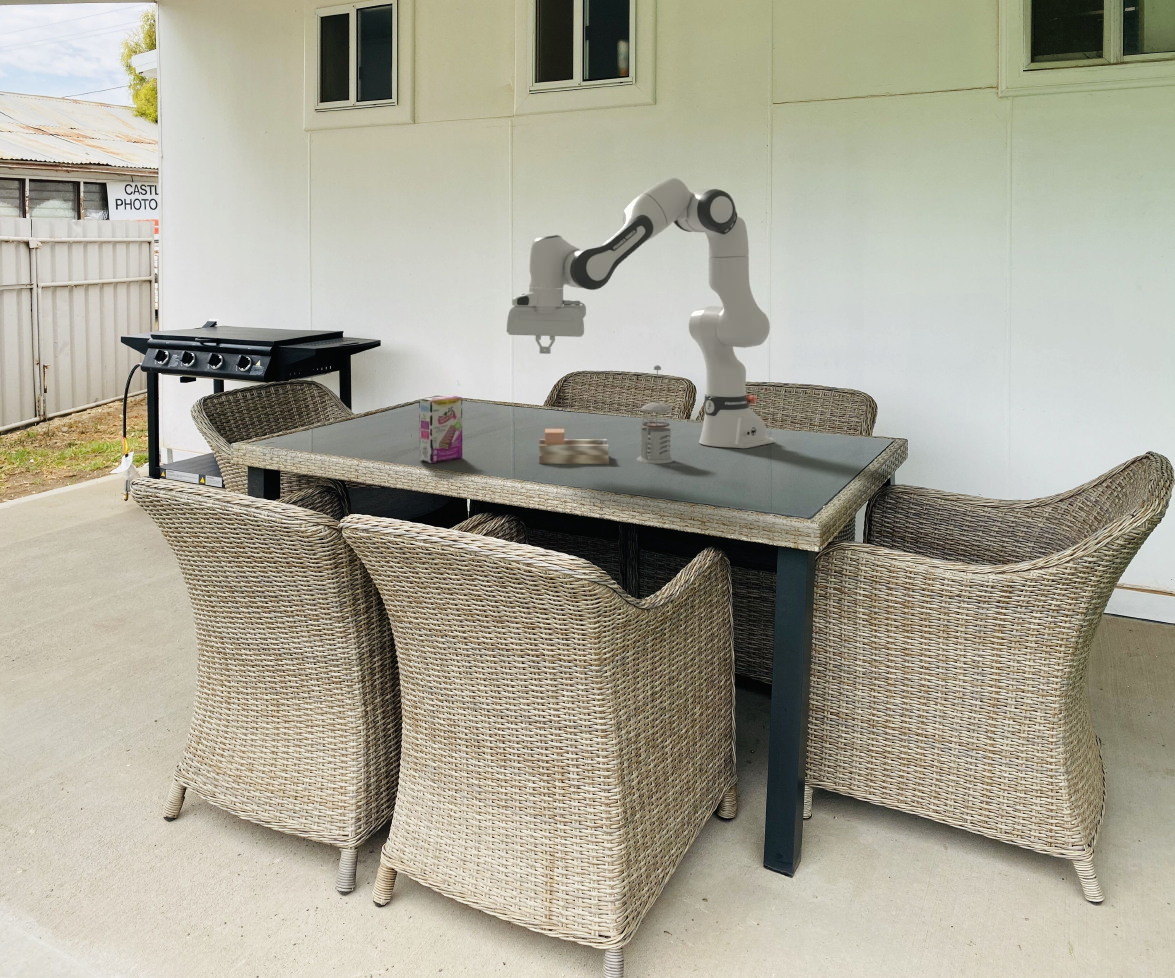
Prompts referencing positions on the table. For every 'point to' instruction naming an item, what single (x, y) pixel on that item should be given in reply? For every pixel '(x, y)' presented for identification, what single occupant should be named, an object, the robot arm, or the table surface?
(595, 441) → the chute
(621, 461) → the table surface
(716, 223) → the robot arm
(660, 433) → the french press
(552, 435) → the block
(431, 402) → the candy bar box
